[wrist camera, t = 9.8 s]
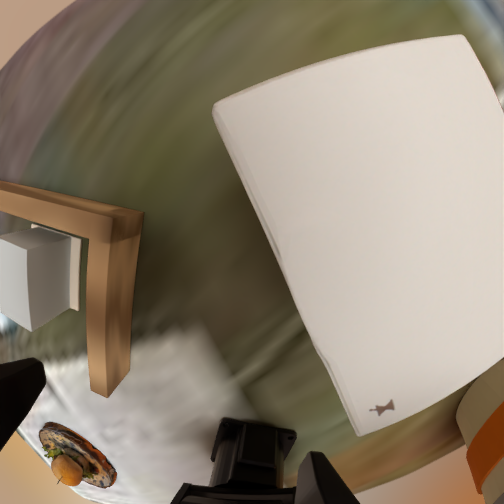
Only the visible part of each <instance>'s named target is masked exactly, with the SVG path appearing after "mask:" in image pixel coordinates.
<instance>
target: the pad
mask: <svg viewBox="0 0 504 504" xmlns="http://www.w3.org/2000/svg"><path fill="white" fill-rule="evenodd" d="M35 227H41V228H45V229H48V230H51V231H54V232H57V233H60V234H63V235H67V236H70V237H72V239H71V256H70V308H72V309H75V310H77V311H79V310H80V266H81V249H82V239H81V238H77V237H74V236H71V235H68V234H65V233H61V232H58V231H55V230H52V229H49V228H46V227H43V226H40V225H36V224H32V227H31V228H35Z"/></svg>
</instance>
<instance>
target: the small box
mask: <svg viewBox="0 0 504 504" xmlns="http://www.w3.org/2000/svg"><path fill="white" fill-rule="evenodd" d="M212 116H213V119H214V122H215V124H216V127H217V129H218V131H219V133H220V136H221V138H222V140H223V142H224V144H225V146H226V149H227V151H228V153H229V155H230V157H231V159H232V162H233V164H234V166H235V168H236V170H237V172H238V175H239V177H240V179H241V181H242V183H243V185H244V188H245V190H246V192H247V194H248V196H249V199H250V201H251V203H252V205H253V207H254V210H255V212H256V214H257V216H258V218H259V221H260V223H261V225H262V227H263V230H264V232H265V234H266V236H267V239H268V241H269V243H270V246H271V248H272V250H273V252H274V255H275V257H276V259H277V261H278V264H279V266H280V268H281V271H282V273H283V275H284V278H285V280H286V282H287V285H288V287H289V289H290V292H291V294H292V297H293V299H294V302H295V304H296V306H297V309H298V311H299V314H300V316H301V318H302V320H303V323H304V325H305V327H306V329H307V331H308V333H309V335H310V338H311V340H312V343H313V345H314V347H315V349H316V351H317V353H318V355H319V356H320V358H321V359H322V361H323V363H324V365H325V367H326V369H327V371H328V373H329V375H330V377H331V380H332V382H333V384H334V386H335V389H336V391H337V393H338V395H339V398H340V400H341V402H342V405H343V407H344V409H345V411H346V414H347V416H348V418H349V420H350V422H351V424H352V426H353V429H354V431H355V433H356V435H357V436H363V435H366V434H368V433H371V432H374V431H376V430H379V429H381V428H384V427H386V426H389V425H391V424H394V423H396V422H398V421H401V420H403V419H405V418H407V417H409V416H411V415H413V414H415V413H417V412H419V411H421V410H423V409H425V408H427V407H429V406H431V405H433V404H434V403H436V402H438V401H440V400H441V399H443V398H445V397H447V396H448V395H450V394H452V393H453V392H455V391H456V390H458V389H460V388H461V387H463V386H464V385H466V384H467V383H469V382H470V381H472V380H473V379H475V378H476V377H478V376H479V375H480V374H482V373H483V372H485V371H486V370H488V369H489V368H490V367H491V366H493V365H494V364H495V363H497V362H498V361H499V360H501V359H502V358H503V357H504V112H503V109H502V107H501V104H500V102H499V100H498V98H497V95H496V93H495V91H494V89H493V87H492V85H491V83H490V81H489V79H488V77H487V75H486V73H485V71H484V69H483V67H482V65H481V64H480V62H479V60H478V58H477V56H476V55H475V53H474V51H473V49H472V48H471V46H470V44H469V43H468V41H467V39H466V38H465V36H463V35H451V36H441V37H433V38H425V39H418V40H411V41H405V42H399V43H393V44H388V45H383V46H378V47H374V48H369V49H365V50H361V51H357V52H353V53H349V54H345V55H342V56H338V57H334V58H331V59H328V60H324V61H321V62H318V63H315V64H312V65H308V66H305V67H302V68H299V69H296V70H294V71H291V72H288V73H285V74H282V75H280V76H277V77H274V78H272V79H269V80H266V81H264V82H261V83H259V84H256V85H254V86H252V87H249V88H247V89H244V90H242V91H240V92H237V93H235V94H233V95H231V96H228V97H226V98H224V99H222V100H220V101H217V102H216V103H215V104H214V105H213V109H212Z"/></svg>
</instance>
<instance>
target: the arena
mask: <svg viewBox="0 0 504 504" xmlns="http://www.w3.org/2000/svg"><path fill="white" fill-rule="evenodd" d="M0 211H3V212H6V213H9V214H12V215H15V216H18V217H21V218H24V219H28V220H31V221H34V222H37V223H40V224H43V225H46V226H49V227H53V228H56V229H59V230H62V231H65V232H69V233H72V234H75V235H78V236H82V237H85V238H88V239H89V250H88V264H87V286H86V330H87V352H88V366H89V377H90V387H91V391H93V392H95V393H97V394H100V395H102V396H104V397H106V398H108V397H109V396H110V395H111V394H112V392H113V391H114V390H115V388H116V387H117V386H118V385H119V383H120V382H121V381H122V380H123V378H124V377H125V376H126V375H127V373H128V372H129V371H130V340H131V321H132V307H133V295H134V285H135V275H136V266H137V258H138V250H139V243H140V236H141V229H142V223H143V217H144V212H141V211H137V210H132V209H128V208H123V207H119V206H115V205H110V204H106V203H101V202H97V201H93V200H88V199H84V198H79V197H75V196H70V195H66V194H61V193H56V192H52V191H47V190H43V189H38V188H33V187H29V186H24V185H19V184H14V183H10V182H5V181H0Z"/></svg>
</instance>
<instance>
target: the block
mask: <svg viewBox="0 0 504 504" xmlns="http://www.w3.org/2000/svg"><path fill="white" fill-rule="evenodd" d="M71 239H72V237H70V236H67V235H63V234H60V233H57V232H54V231H51V230H48V229H45V228H41V227H35V228H31V229H26V230H22V231H17V232H13V233H9V234H5V235H0V310H1V313H2V314H4V315H5V316H7V317H8V318H10V319H12V320H13V321H15V322H16V323H18V324H19V325H21V326H23V327H24V328H26V329H28V330H29V331H31V332H33V331H34V330H36V329H37V328H39V327H40V326H42V325H44V324H45V323H47V322H48V321H50V320H51V319H53V318H55V317H56V316H58V315H59V314H61V313H63V312H64V311H66V310H67V309H69V308H70V256H71Z"/></svg>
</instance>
